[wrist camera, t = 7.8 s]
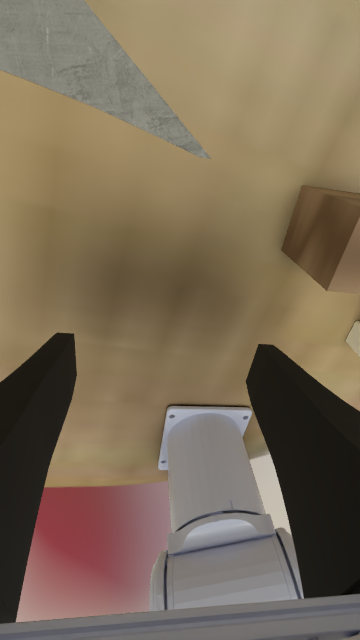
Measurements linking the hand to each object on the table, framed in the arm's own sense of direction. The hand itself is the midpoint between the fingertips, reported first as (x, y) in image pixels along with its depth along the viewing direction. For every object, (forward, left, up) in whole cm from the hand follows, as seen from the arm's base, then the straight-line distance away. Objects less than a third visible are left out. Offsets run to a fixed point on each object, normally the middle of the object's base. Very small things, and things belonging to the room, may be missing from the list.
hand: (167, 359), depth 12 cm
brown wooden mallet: (+4, -16, -9) cm, 19 cm away
